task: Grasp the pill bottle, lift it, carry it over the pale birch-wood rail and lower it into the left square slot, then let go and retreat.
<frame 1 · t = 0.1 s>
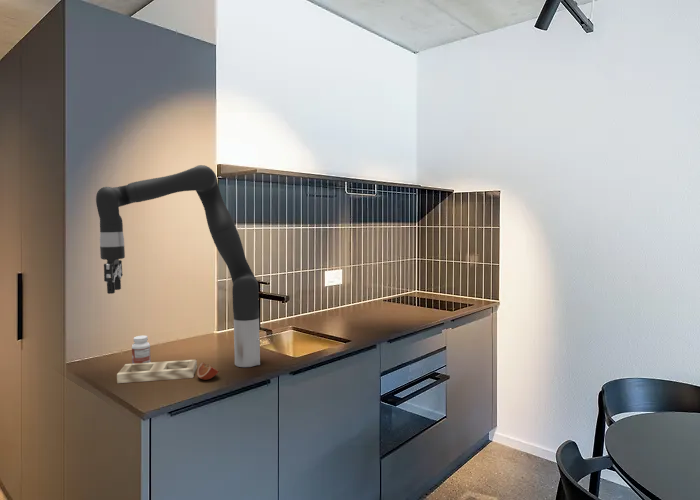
hand: (114, 291, 163), 29 cm above the worktop, fingers open, 8 cm apart
pill bottle: (141, 367, 172), on the worktop
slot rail: (158, 375, 162), on the worktop
fruit slice: (207, 379, 159), on the worktop
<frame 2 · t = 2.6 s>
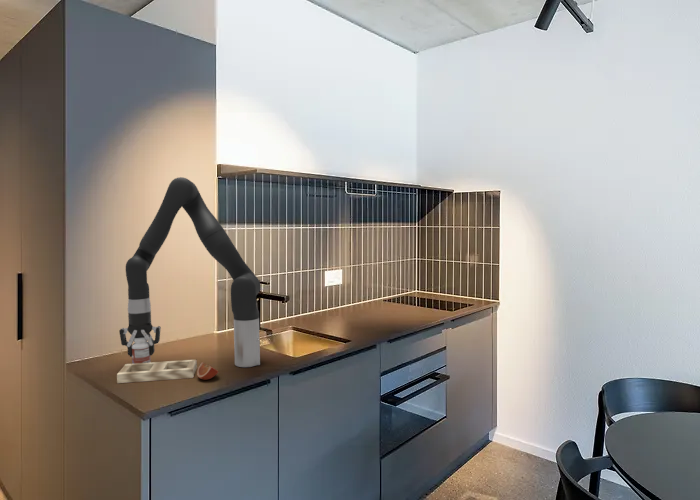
hand: (141, 355, 171), 4 cm above the worktop, fingers closed on pill bottle, 6 cm apart
pill bottle: (141, 367, 172), on the worktop, touching gripper
everything else where it was.
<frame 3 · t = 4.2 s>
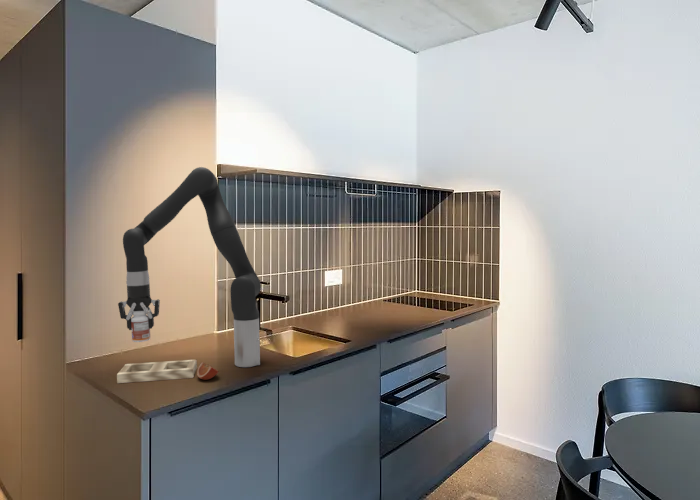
hand: (140, 328, 170), 14 cm above the worktop, fingers closed on pill bottle, 6 cm apart
pill bottle: (141, 340, 171), point 10 cm above the worktop, touching gripper
everything else where it was.
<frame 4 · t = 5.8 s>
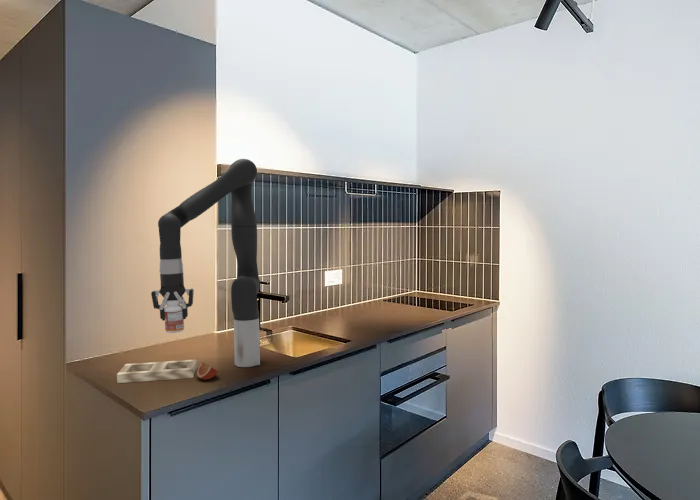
hand: (174, 319, 163), 19 cm above the worktop, fingers closed on pill bottle, 6 cm apart
pill bottle: (174, 331, 163), point 15 cm above the worktop, touching gripper
everything else where it was.
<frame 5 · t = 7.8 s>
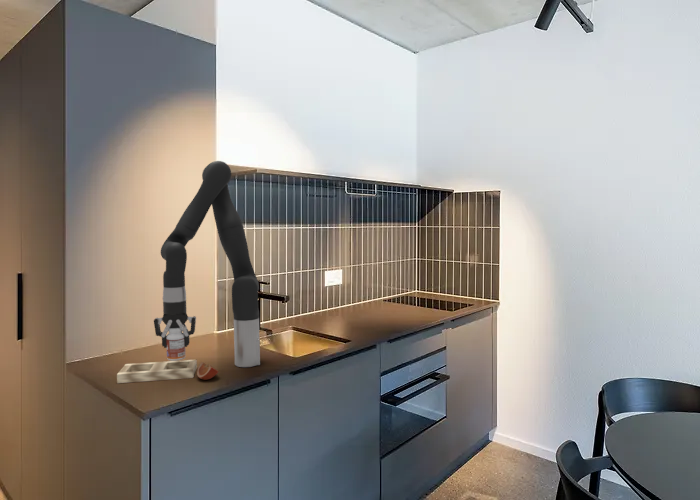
hand: (175, 346, 163), 10 cm above the worktop, fingers closed on pill bottle, 6 cm apart
pill bottle: (176, 359, 163), point 5 cm above the worktop, touching gripper
everything else where it was.
when the fingers open (6 cm above the worktop, at t = 9.2 s): pill bottle drops 1 cm, resting in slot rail.
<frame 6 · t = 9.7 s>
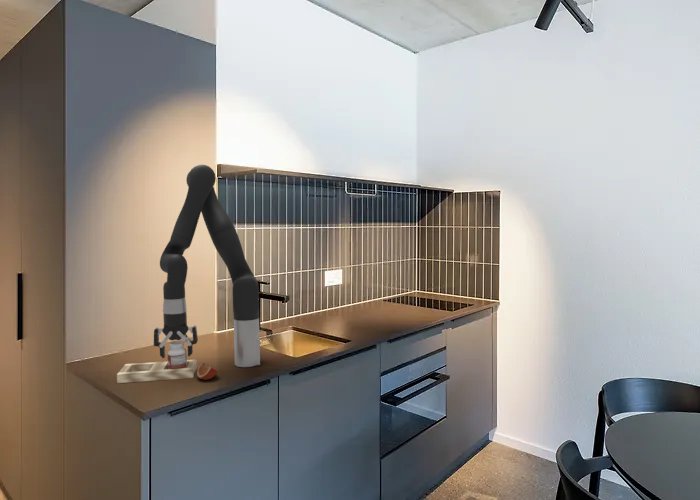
hand: (176, 356, 163), 6 cm above the worktop, fingers open, 8 cm apart
pill bottle: (177, 374, 164), resting in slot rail
everything else where it was.
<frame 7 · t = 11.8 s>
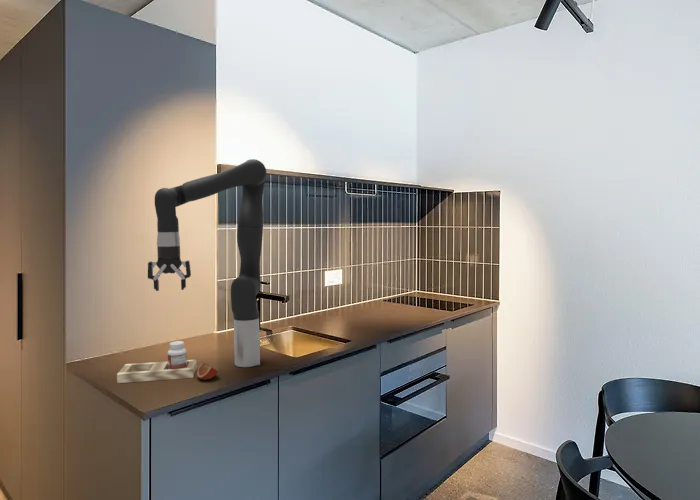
hand: (170, 290, 167), 29 cm above the worktop, fingers open, 8 cm apart
nothing on the worktop moved.
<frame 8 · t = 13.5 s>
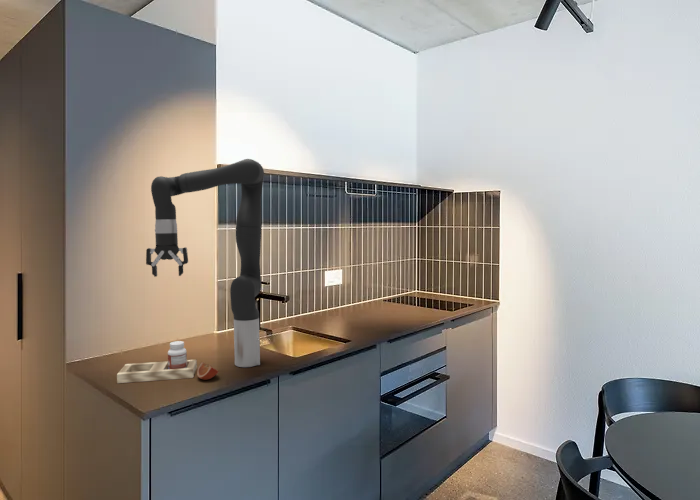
hand: (167, 276, 172), 33 cm above the worktop, fingers open, 8 cm apart
nothing on the worktop moved.
at the end: pill bottle 0.2 cm from the target spot on the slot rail, point 0.0 cm above the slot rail's base; pill bottle tilted 0°; the gripper is holding nothing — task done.
